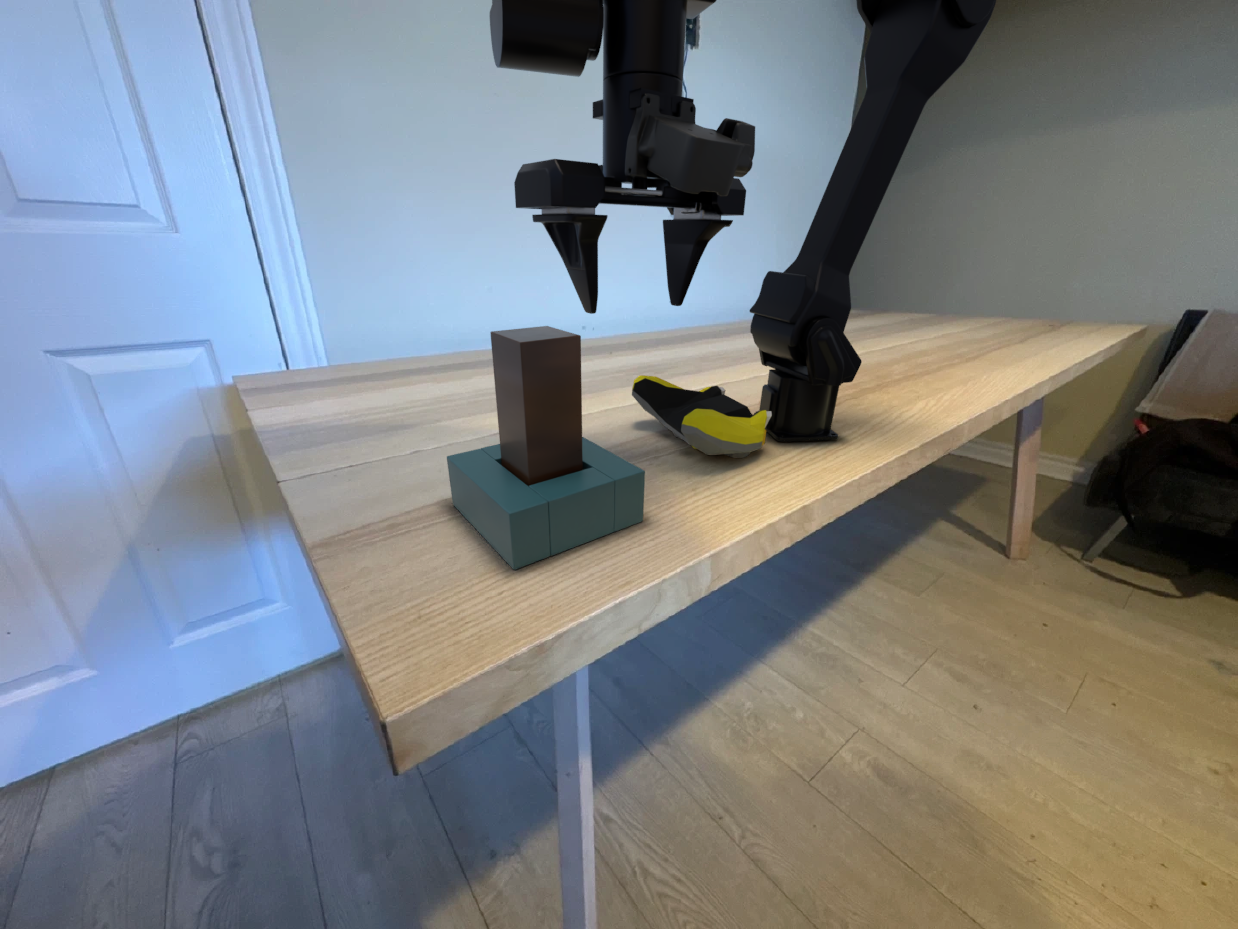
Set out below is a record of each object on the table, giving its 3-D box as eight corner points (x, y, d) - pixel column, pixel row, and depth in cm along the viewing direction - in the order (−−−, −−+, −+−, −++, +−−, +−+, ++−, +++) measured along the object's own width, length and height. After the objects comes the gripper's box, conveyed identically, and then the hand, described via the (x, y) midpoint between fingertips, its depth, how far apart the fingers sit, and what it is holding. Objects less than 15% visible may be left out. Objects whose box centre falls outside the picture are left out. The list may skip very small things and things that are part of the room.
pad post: (554, 494, 41) (547, 325, 35) (583, 516, 38) (581, 335, 32) (505, 509, 38) (489, 331, 33) (532, 534, 35) (520, 342, 30)
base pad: (568, 471, 44) (566, 427, 43) (643, 521, 37) (645, 470, 35) (452, 504, 39) (446, 455, 37) (513, 570, 31) (509, 513, 30)
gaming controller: (689, 479, 43) (787, 463, 47) (694, 417, 41) (797, 405, 44) (624, 422, 56) (704, 412, 59) (625, 372, 54) (709, 365, 57)
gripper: (600, 20, 26) (600, 334, 32) (817, 84, 36) (784, 313, 43) (503, 68, 34) (518, 312, 40) (703, 109, 44) (690, 298, 51)
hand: (635, 309), depth 43 cm, fingers open, 9 cm apart
